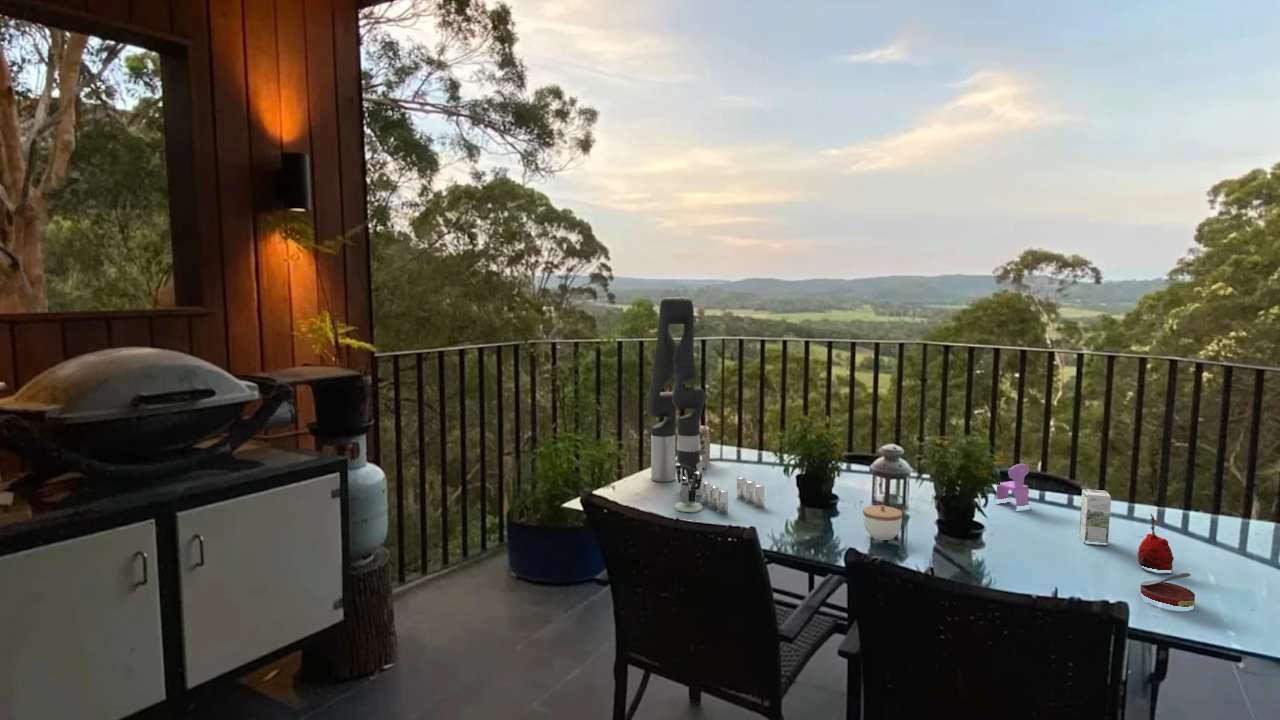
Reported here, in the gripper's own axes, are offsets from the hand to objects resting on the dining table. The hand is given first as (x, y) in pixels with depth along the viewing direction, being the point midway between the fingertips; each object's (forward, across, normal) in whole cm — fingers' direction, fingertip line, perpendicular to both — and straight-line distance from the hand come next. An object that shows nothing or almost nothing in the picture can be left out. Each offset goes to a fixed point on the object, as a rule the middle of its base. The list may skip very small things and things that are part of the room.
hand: (688, 499), depth 229 cm
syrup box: (+3, +77, +87) cm, 116 cm away
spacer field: (+3, +3, +15) cm, 16 cm away
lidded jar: (+3, +48, +37) cm, 61 cm away
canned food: (+4, +108, +64) cm, 126 cm away
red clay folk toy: (+3, +96, +81) cm, 126 cm away
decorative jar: (+3, -49, +30) cm, 58 cm away
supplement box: (+3, -16, +10) cm, 19 cm away
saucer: (+3, 0, 0) cm, 3 cm away
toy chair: (+3, +45, +96) cm, 106 cm away
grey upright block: (+1, 0, 0) cm, 1 cm away
